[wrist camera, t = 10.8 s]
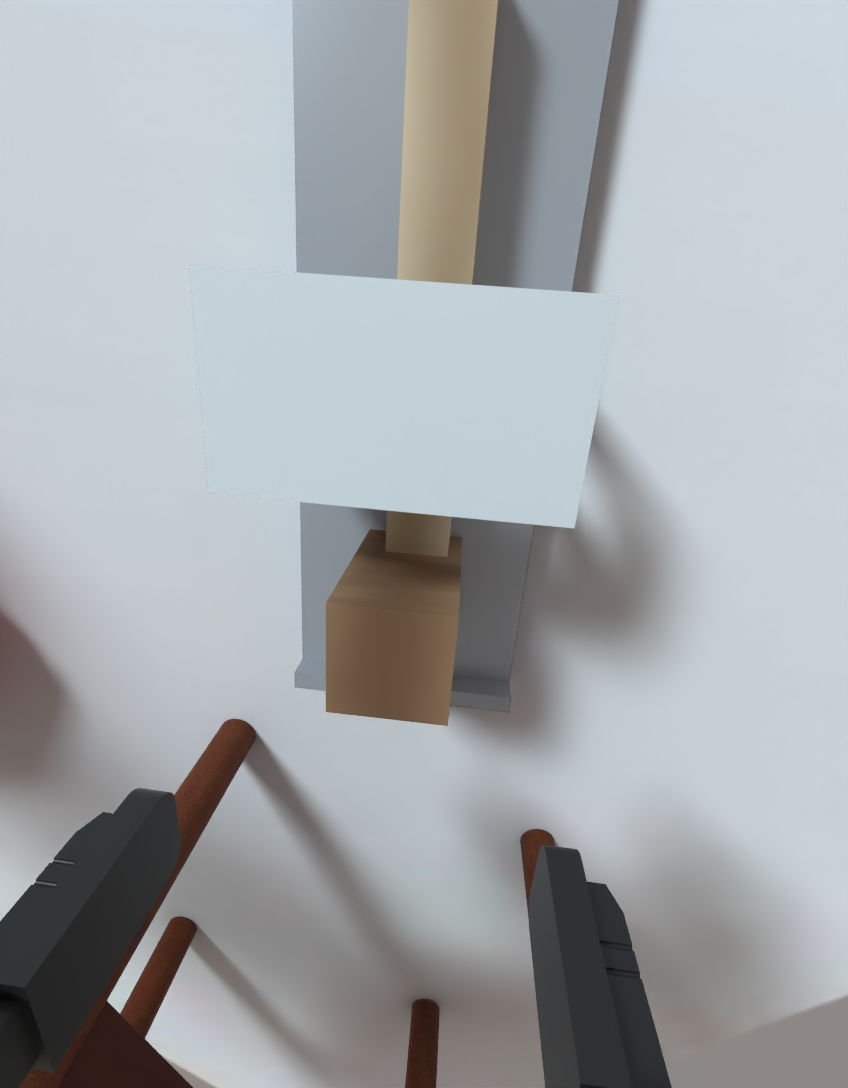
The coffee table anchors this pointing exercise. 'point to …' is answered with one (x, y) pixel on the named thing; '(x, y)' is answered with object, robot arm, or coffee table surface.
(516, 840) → the coffee table surface
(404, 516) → the beech dowel
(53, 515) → the coffee table surface
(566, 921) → the robot arm
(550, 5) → the grey pocketed tray
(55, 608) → the coffee table surface
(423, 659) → the walnut block
